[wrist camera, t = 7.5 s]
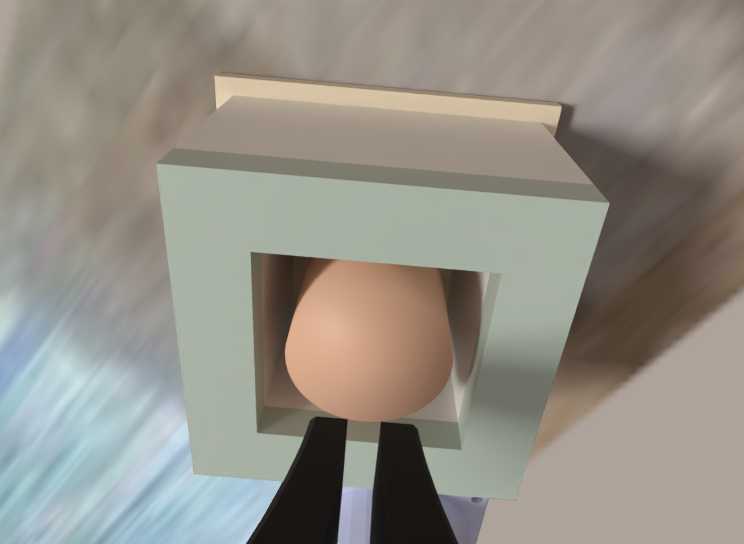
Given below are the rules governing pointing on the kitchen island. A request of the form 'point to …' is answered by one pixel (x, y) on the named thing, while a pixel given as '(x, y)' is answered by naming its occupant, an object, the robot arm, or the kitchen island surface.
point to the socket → (379, 245)
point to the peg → (369, 338)
